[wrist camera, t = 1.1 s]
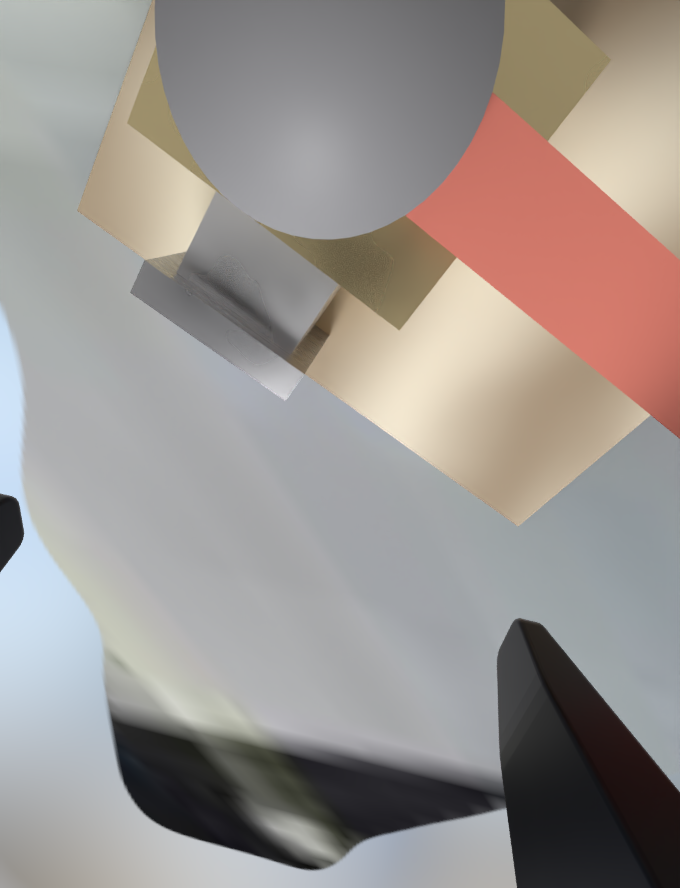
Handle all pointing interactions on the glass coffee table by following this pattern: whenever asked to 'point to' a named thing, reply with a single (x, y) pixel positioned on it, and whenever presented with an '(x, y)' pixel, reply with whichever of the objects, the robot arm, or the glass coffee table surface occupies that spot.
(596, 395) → the board
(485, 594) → the glass coffee table surface
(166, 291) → the valve body
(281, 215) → the lever
